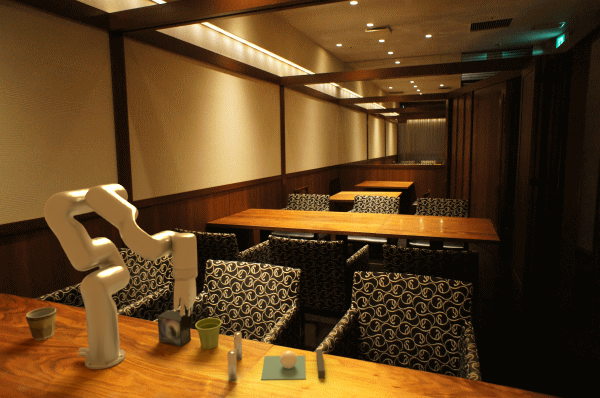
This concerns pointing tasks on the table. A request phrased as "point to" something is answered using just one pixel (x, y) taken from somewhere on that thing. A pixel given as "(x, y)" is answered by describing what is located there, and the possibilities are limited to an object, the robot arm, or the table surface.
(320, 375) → the wall
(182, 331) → the small box
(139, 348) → the table surface
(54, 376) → the table surface
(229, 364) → the post
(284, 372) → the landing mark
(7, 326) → the table surface
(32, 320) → the ceramic cup
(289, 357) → the ball
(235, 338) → the post
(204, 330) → the plant pot
